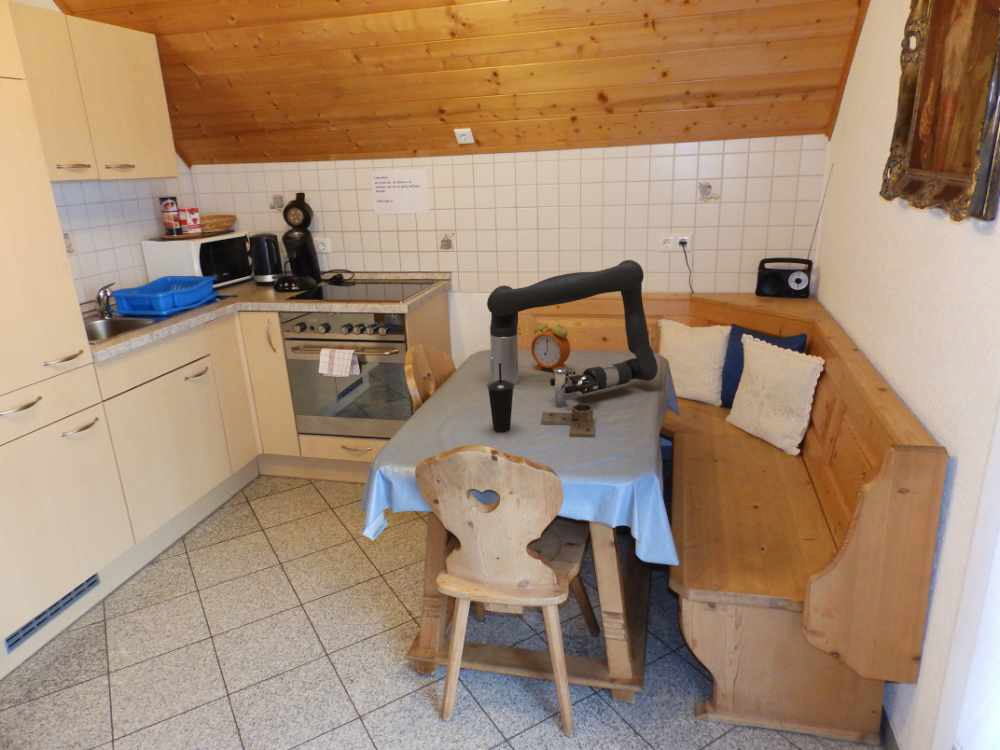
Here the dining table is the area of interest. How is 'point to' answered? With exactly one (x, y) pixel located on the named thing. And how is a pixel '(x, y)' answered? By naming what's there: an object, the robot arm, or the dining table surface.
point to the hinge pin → (560, 386)
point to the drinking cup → (501, 403)
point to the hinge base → (573, 420)
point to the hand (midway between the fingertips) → (557, 386)
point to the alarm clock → (550, 347)
